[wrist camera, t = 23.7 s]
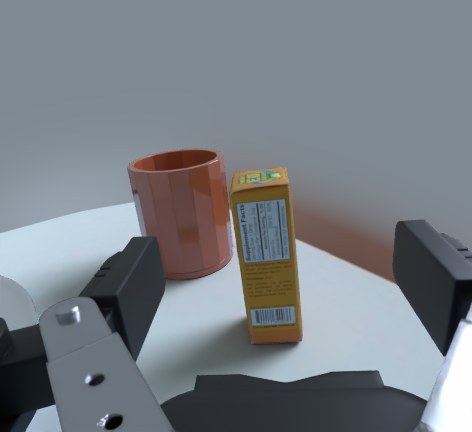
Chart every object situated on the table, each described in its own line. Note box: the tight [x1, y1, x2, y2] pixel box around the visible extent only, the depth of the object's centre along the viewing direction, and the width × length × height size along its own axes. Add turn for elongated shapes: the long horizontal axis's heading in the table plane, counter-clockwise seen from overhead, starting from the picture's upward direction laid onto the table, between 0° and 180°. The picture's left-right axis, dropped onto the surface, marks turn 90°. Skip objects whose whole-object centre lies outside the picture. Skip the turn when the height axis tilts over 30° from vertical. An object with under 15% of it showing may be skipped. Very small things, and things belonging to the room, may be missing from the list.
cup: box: [127, 149, 233, 280], centre depth 31 cm, size 8×8×9 cm
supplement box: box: [229, 167, 302, 344], centre depth 21 cm, size 3×3×10 cm
